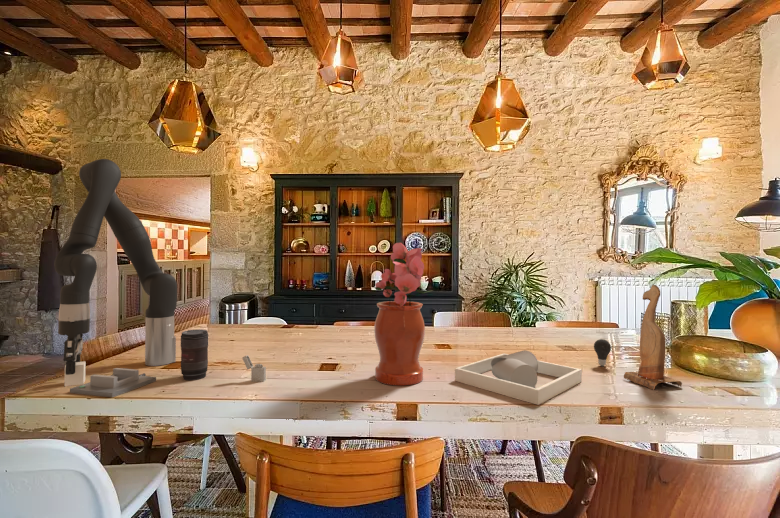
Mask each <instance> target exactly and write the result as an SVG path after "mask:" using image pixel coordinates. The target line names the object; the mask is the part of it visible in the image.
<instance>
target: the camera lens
mask: <svg viewBox="0 0 780 518" xmlns="http://www.w3.org/2000/svg"><path fill="white" fill-rule="evenodd" d="M208 347H209V333H208V330H207V329H190V330H184V331H182V332H181V335H180V350H181V351H180V372H181V375H182V379H183V380H186V381H195V380H200V379H203V378H205V377H207V371H208V366H209V358H208V357H209V355H208V354H209V349H208Z"/></svg>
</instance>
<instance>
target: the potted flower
mask: <svg viewBox="0 0 780 518" xmlns="http://www.w3.org/2000/svg"><path fill="white" fill-rule="evenodd" d="M422 250H423V248H422V247H417V248H412V249H410V250H408V249H407V247H406V246H405V245H404V244H403V243H402V242H396V243H394V244H393V245H392V253H391V255H390V260H391V261H392V263H393V264H394V272H392V270H391V269H390V268H385V269H384V272H383V273H381V275H380V277H381V280H380V281H377V282H376V283H374V284H375V287H374V290H375V291H380V292H382V294H383V296H384V297H385V298H390V297H392V295H394V300H393V301H392V300H389V301H381V302H377V303H376V306H377V308H379V310H378V313H377V315H376V318H375V321H374V327H373V328H374V330H373V332H374V340H375V345H376V347H377V350H378V354H379V355H378V356H379V362H378V365H377V366H375V369H374V379H375V380H376V381H377V382H378V383H381V384H384V385H388V386H397V387H400V386H401V387H402V386H411V385H416V384H420V383H421V382H423V380H424V368H423V367H422V366H421V364H420V360H419V358H420V353H421V350H422V346H423V344H424V340H425V333H426V327H425V320H424V317H423V315H422V312H421V309H422V307H423V305H424V304H423V303H421V302H417V301H411V297H414V296H417V295H421V294H425V293H430V292H432V291H434V290H428V291H423V290H419V289H418V288H419V287H421V285H422V284H421V280H422V278H424V276H423V274H424V270H425V264H424V262H423V261H422V258H423V256H422ZM387 282H389V284H390V285H387ZM392 283H394V286H391V285H392ZM392 290H394V291H395V292H394V294H393V291H392ZM412 292H417V293H416V294H413V295H411V293H412ZM407 298H409V301H407V300H408V299H407Z"/></svg>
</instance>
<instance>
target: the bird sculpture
mask: <svg viewBox="0 0 780 518" xmlns="http://www.w3.org/2000/svg"><path fill="white" fill-rule="evenodd" d="M660 297H661V289H660V287H659V286H658V285H656V284H652V285H651V287H650V289H648V290H646V291H645V292H643V294H642V300H645V301H647V300H648V301H649V303H648V305H647V307H646V309H645V312H644V315H643V319H642V323H641V327H640V340H639V341H640V342H639V358H640V360H641V363H640V366H639V368H638V370H637V371H626V372H624V374H623V379H626V380H627V381H630V382H632V383H635V384H638V385H640V386H642V387H646V388H648V389H650V390H655V388H656V387H657V385H658V384H662V383H668V384H671V385H674V386H677V387H680V388H681V387H682V385H683V382H682V381H680V380H678V379H675V378H671V377H668V376H665V362H666V340H667V339H666V336H665V334H664V332H663V329H662V328H661V327H660V326H659V325H658V324H657V322H656V313H657V312H656V311H657V307H658V303H659V299H660Z"/></svg>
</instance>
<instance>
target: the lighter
mask: <svg viewBox="0 0 780 518" xmlns="http://www.w3.org/2000/svg"><path fill="white" fill-rule="evenodd" d="M242 360H243V362H244V363H243V364H244V366H245V367H246V369H247V370H250V372H251V373H250V375H251V376H250V377H251V378H250V379H251V380H250V381H251V382H254V383H255V382H257V383H258V382H261V383H264V382H265V381H266V380H267V378H266V376H267V375H266V374H267V370H266V369H267V366H264V365H263V363H255V364H253V363H252V359H251V358H250V356H249V354H247V355H244V356H243V357H242Z"/></svg>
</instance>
